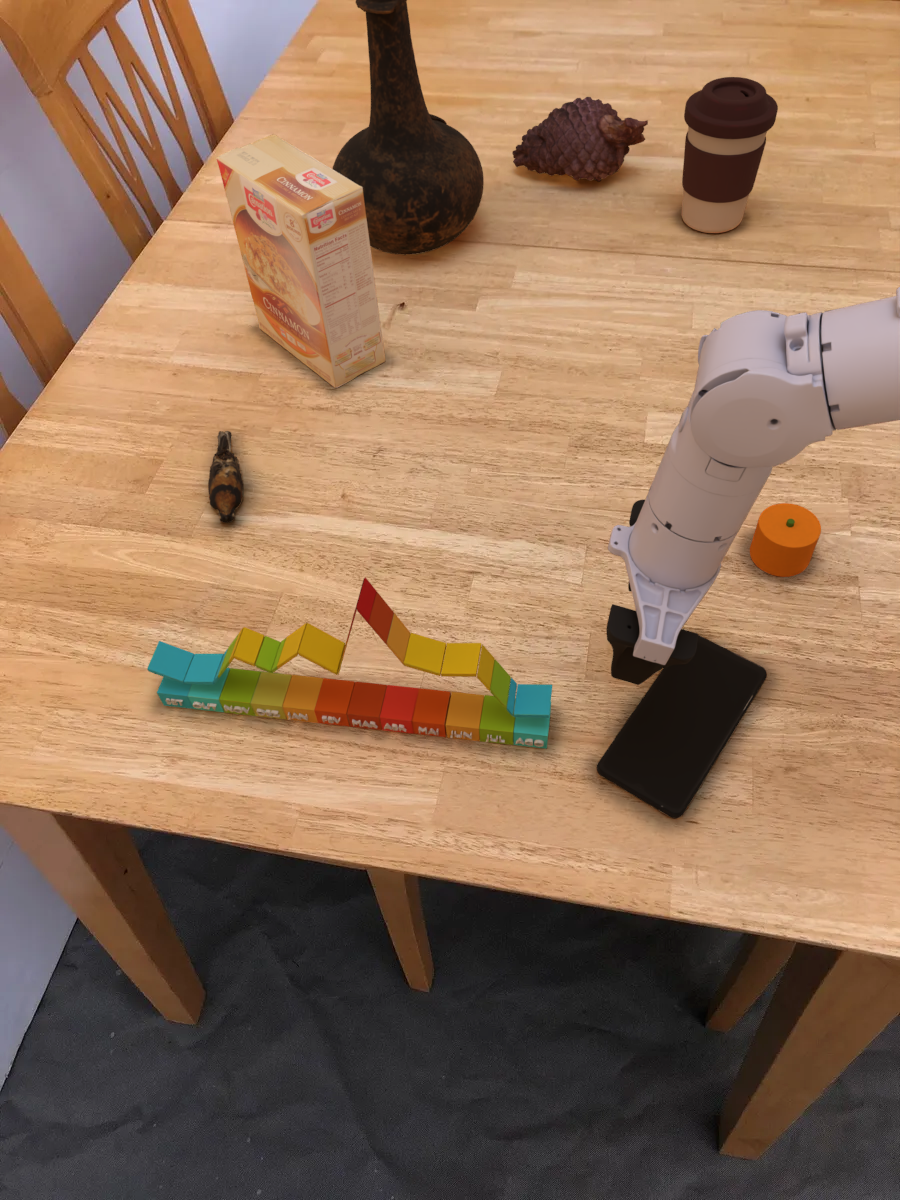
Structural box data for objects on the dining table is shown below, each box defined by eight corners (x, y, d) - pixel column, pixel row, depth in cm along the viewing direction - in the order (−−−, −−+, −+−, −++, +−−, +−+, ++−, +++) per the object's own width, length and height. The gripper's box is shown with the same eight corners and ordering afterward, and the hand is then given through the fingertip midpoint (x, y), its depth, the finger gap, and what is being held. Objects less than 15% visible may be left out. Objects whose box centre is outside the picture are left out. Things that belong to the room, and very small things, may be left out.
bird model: (208, 537, 84) (200, 517, 82) (216, 438, 93) (209, 418, 91) (243, 532, 84) (236, 512, 82) (247, 434, 93) (241, 414, 91)
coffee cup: (663, 236, 111) (681, 106, 99) (676, 194, 116) (694, 66, 105) (748, 245, 108) (777, 113, 97) (757, 202, 114) (785, 73, 102)
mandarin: (822, 558, 79) (835, 524, 75) (781, 586, 77) (793, 553, 74) (777, 524, 81) (788, 490, 78) (737, 551, 80) (746, 517, 76)
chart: (162, 708, 73) (95, 589, 61) (176, 674, 75) (113, 553, 63) (546, 752, 69) (553, 633, 57) (550, 715, 71) (557, 593, 59)
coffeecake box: (257, 328, 104) (212, 156, 88) (309, 302, 106) (275, 130, 91) (334, 391, 96) (300, 214, 81) (388, 361, 99) (365, 184, 83)
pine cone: (508, 196, 118) (497, 110, 115) (529, 198, 127) (519, 118, 124) (648, 167, 111) (639, 75, 108) (659, 171, 120) (652, 86, 117)
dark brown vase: (506, 211, 116) (504, -49, 94) (446, 288, 106) (429, 18, 84) (381, 187, 121) (351, -64, 99) (313, 259, 112) (264, -2, 90)
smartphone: (771, 669, 71) (679, 819, 64) (768, 675, 72) (677, 824, 65) (689, 628, 74) (593, 767, 67) (687, 634, 74) (592, 773, 67)
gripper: (647, 407, 59) (597, 542, 70) (609, 579, 50) (559, 701, 61) (756, 436, 58) (688, 567, 69) (736, 615, 50) (663, 732, 61)
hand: (634, 632), depth 65 cm, fingers open, 7 cm apart
